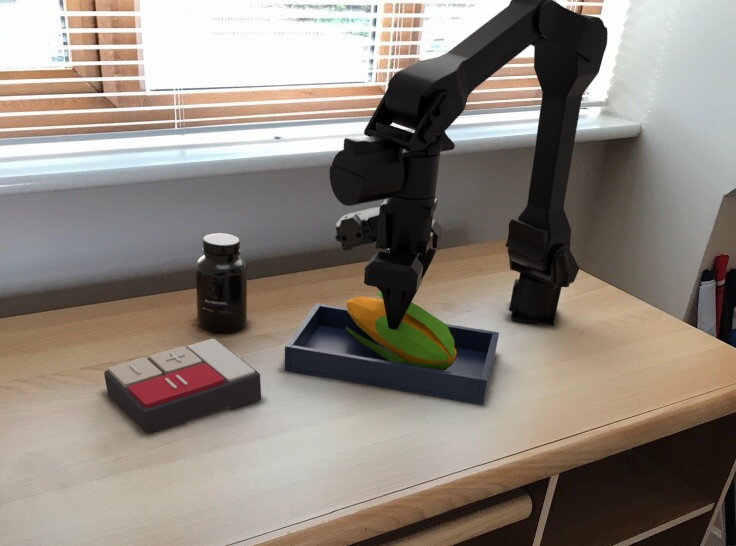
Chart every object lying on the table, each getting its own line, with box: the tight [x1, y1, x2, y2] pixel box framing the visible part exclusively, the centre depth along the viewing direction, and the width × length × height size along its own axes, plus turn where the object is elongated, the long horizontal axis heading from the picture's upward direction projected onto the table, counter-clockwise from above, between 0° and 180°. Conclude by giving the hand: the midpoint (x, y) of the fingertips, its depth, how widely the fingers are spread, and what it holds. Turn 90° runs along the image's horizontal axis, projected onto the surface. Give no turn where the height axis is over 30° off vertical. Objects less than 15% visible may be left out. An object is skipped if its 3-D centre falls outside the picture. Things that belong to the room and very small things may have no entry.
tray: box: [283, 302, 500, 406], centre depth 111 cm, size 26×15×3 cm, turn 76°
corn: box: [346, 291, 457, 370], centre depth 110 cm, size 7×8×20 cm
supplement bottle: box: [195, 233, 248, 334], centre depth 115 cm, size 7×7×12 cm
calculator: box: [103, 338, 262, 434], centre depth 100 cm, size 11×4×15 cm
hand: (398, 317), depth 108 cm, fingers open, 7 cm apart
